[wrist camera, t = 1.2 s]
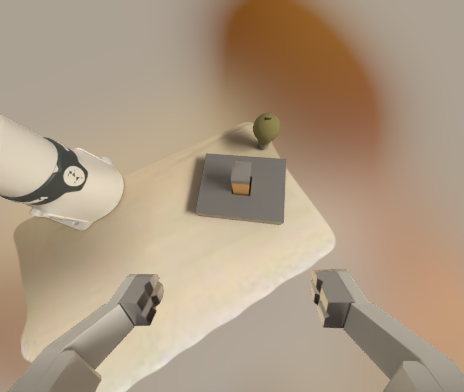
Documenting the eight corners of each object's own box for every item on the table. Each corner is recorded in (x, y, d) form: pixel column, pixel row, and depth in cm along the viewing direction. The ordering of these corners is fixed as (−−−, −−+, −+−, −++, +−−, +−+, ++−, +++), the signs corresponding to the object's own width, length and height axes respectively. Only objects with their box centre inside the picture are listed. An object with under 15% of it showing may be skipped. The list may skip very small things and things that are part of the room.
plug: (234, 196, 39) (230, 180, 29) (235, 181, 40) (233, 161, 30) (248, 198, 38) (249, 181, 29) (249, 183, 39) (251, 162, 30)
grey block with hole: (199, 215, 38) (195, 212, 35) (209, 160, 42) (206, 153, 39) (280, 224, 37) (283, 222, 33) (282, 166, 41) (285, 159, 37)
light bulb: (257, 160, 42) (260, 134, 32) (248, 142, 43) (249, 112, 34) (278, 152, 42) (287, 123, 32) (268, 134, 43) (275, 102, 34)
